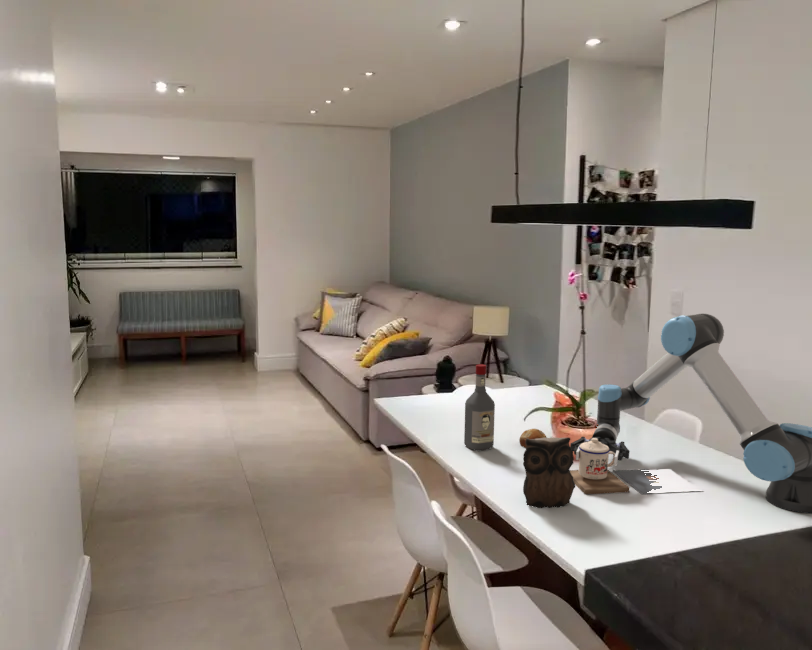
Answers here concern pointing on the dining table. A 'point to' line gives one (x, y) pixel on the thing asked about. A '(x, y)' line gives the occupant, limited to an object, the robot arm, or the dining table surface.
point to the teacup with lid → (594, 459)
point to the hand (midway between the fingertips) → (596, 458)
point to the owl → (548, 472)
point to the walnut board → (599, 484)
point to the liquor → (479, 415)
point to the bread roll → (531, 436)
